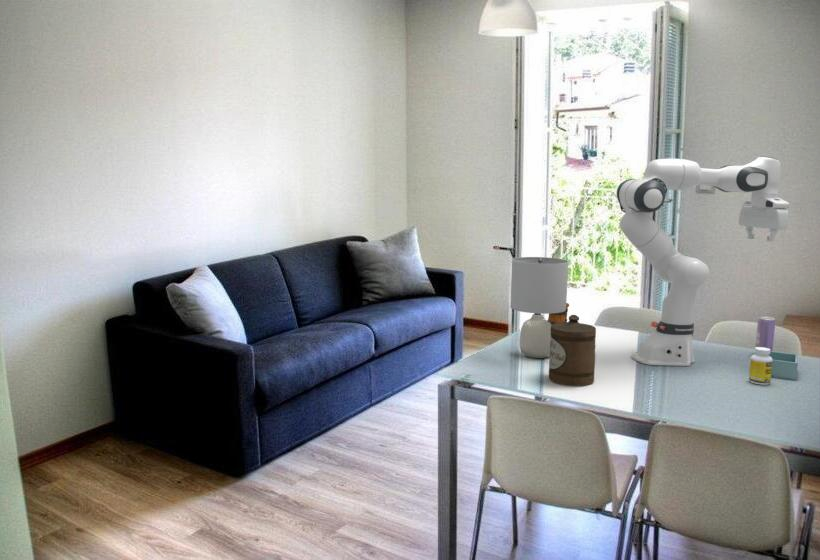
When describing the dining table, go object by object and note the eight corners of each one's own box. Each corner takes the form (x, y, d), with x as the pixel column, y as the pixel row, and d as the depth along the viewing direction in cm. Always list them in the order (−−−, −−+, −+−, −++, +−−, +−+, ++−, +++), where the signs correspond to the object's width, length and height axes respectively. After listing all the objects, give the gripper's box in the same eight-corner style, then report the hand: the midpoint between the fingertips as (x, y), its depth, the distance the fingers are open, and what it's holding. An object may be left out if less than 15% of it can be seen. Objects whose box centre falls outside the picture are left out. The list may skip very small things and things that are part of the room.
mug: (558, 334, 305) (559, 307, 303) (539, 330, 312) (540, 304, 311) (576, 330, 313) (578, 304, 311) (557, 326, 321) (559, 300, 319)
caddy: (795, 380, 241) (797, 363, 241) (751, 374, 248) (753, 357, 247) (796, 371, 253) (798, 354, 252) (754, 365, 260) (755, 349, 259)
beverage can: (774, 358, 270) (778, 319, 268) (758, 358, 270) (762, 319, 268) (767, 354, 276) (771, 316, 274) (751, 354, 276) (755, 316, 274)
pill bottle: (761, 386, 234) (764, 352, 232) (744, 381, 240) (747, 347, 238) (774, 384, 237) (778, 349, 235) (757, 378, 243) (760, 345, 241)
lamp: (537, 346, 282) (541, 254, 277) (575, 358, 266) (580, 260, 260) (497, 353, 271) (500, 257, 266) (534, 366, 255) (539, 263, 249)
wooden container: (545, 373, 246) (548, 310, 243) (588, 374, 246) (592, 311, 242) (552, 386, 231) (555, 319, 228) (598, 387, 231) (602, 320, 228)
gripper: (736, 200, 268) (732, 237, 270) (778, 203, 249) (774, 243, 251) (749, 200, 270) (746, 237, 272) (793, 203, 251) (789, 242, 253)
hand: (760, 240), depth 262 cm, fingers open, 8 cm apart
